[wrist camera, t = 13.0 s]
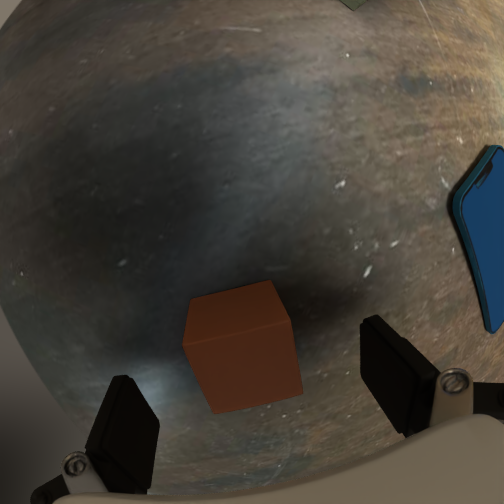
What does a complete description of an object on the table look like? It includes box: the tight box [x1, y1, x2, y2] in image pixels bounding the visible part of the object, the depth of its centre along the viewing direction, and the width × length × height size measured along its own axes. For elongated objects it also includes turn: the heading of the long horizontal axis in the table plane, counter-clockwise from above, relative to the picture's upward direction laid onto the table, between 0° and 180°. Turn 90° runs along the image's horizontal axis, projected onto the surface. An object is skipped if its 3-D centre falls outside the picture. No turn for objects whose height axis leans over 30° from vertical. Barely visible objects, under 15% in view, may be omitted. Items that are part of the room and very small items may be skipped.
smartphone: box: [452, 145, 504, 334], centre depth 15 cm, size 7×1×15 cm
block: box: [182, 280, 303, 414], centre depth 12 cm, size 4×4×4 cm
